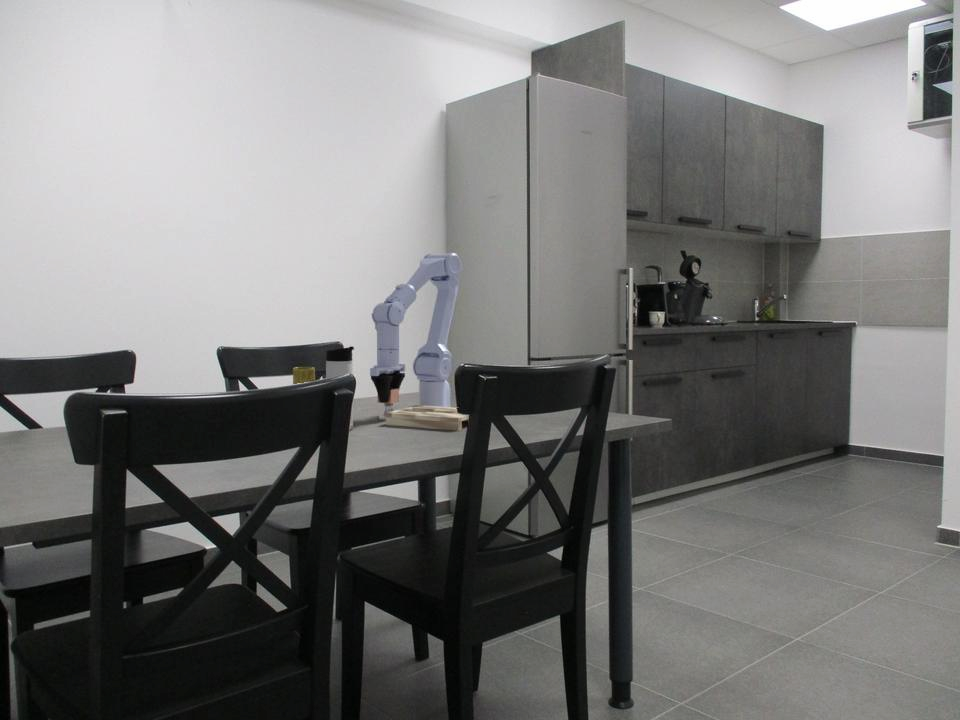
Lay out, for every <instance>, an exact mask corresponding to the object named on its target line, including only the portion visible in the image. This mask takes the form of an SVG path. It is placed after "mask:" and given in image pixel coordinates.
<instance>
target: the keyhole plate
mask: <svg viewBox="0 0 960 720" xmlns="http://www.w3.org/2000/svg"><path fill="white" fill-rule="evenodd" d="M456 408H457V407H452V406H450V407H437V406H423V405H419V404H416V405H411V406H408V407H404V408H401V409H396V410H393V411H391V412H387V413H386V421H385V426H394V427H395V426H396V427H407V428H409V427H410V428H422V429H433V430H444V431H445V430H447V431H454V432H455V431H461V430H463V429H462V427H463V424H462V422H468V421H467V420H468V417H469V416H468V415H462V414H458V413H457V409H456Z"/></svg>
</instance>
